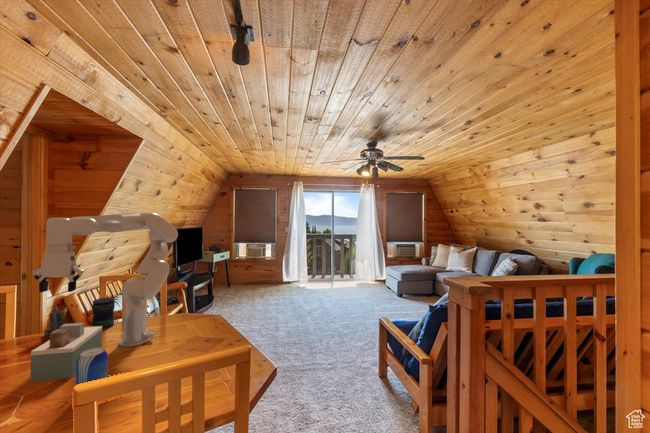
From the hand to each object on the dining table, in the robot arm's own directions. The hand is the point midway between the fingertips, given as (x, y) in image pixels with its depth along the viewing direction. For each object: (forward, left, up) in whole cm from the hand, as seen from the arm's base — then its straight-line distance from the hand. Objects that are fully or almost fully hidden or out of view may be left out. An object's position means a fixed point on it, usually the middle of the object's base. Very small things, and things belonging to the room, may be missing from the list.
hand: (57, 291), depth 111 cm
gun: (+21, -36, -32) cm, 53 cm away
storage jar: (+5, -48, -32) cm, 58 cm away
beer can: (-22, +21, -32) cm, 44 cm away
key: (-2, +2, -31) cm, 31 cm away
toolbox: (-2, -5, -32) cm, 33 cm away
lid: (-2, -5, -22) cm, 23 cm away
